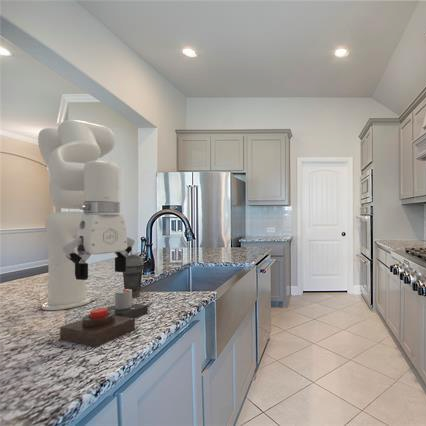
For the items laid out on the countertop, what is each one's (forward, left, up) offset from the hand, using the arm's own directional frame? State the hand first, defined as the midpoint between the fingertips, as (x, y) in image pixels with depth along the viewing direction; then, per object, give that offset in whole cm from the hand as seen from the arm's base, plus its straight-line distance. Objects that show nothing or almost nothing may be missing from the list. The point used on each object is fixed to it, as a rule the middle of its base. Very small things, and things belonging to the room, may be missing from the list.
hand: (102, 275), depth 73 cm
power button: (0, -1, -10) cm, 10 cm away
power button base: (0, -1, -15) cm, 15 cm away
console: (-7, +11, -15) cm, 20 cm away
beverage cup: (-23, +27, -15) cm, 39 cm away
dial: (-7, +11, -12) cm, 18 cm away
